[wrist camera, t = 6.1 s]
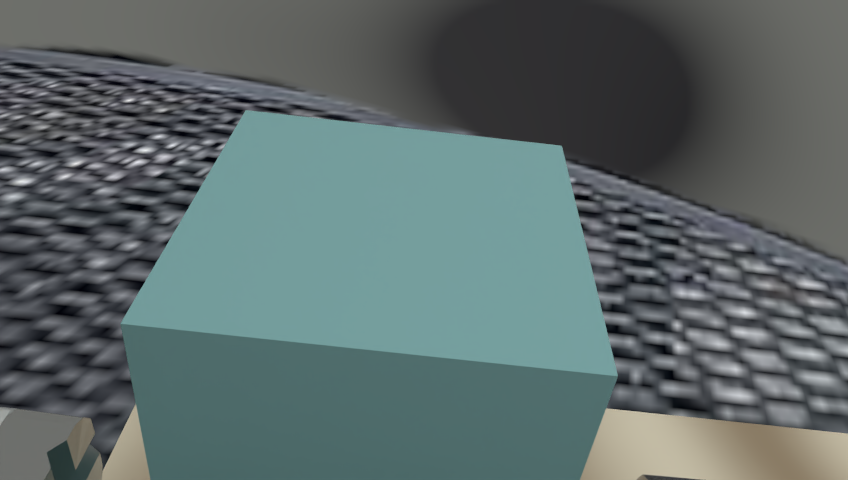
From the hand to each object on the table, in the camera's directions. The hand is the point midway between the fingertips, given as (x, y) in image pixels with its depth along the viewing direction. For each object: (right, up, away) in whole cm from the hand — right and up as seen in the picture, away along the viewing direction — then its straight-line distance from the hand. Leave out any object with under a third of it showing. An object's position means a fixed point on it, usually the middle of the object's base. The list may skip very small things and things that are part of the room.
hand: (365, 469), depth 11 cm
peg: (-1, -6, +4) cm, 7 cm away
